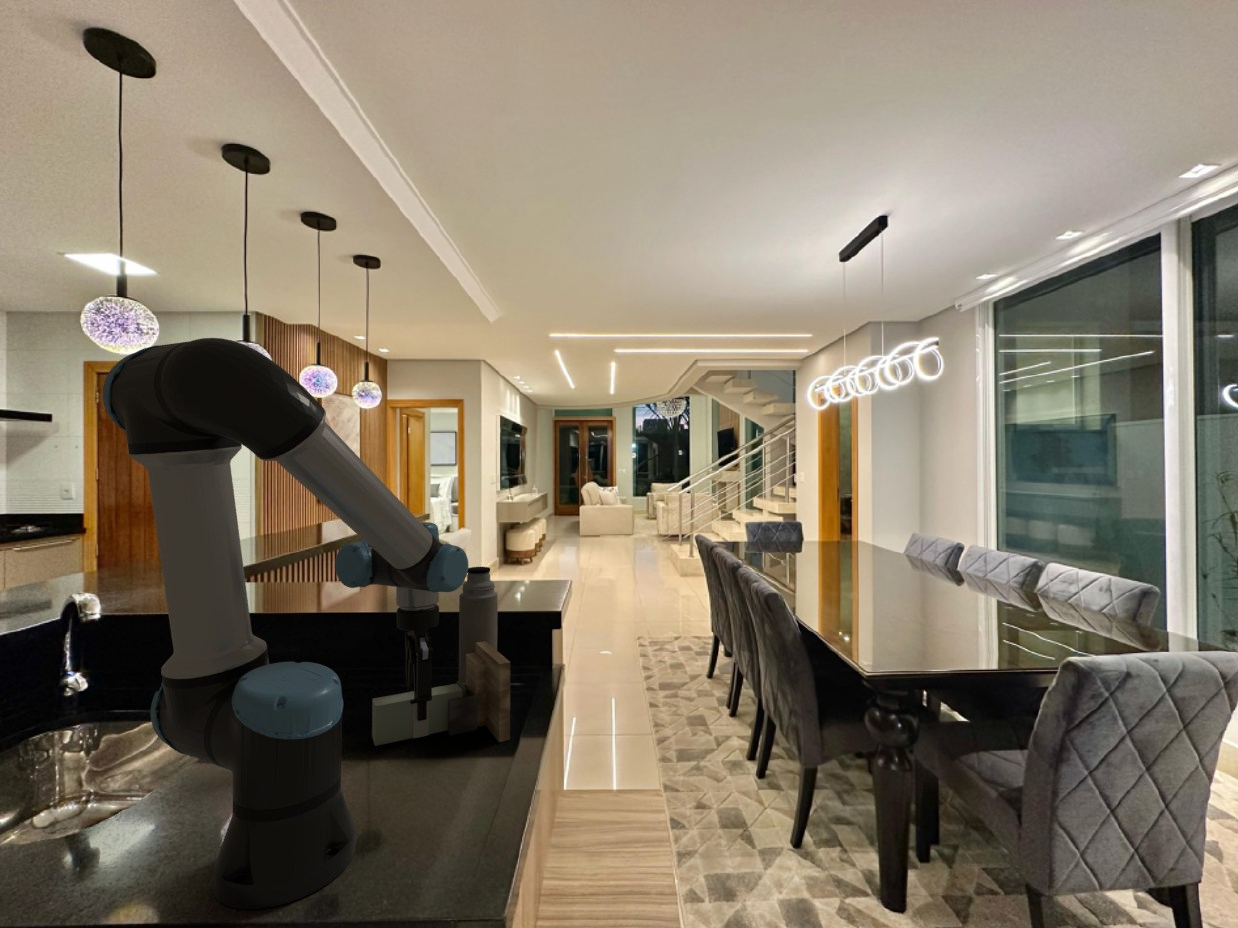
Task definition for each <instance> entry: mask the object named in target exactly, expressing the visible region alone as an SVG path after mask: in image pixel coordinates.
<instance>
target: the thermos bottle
mask: <svg viewBox="0 0 1238 928" xmlns="http://www.w3.org/2000/svg"><path fill="white" fill-rule="evenodd" d="M490 573H491V567H489V566H473V567H468V573H467V576H466V581H464V582H463V584H462V588H461V590H462V593H460V594H459V596H458V597H459V598H458V599H459V605H458V606H459V607H458V610H459V611H458V614H459V615H458V621H459V623H458V681H461V683H465V684H466V654H470V653H476V643H477V642H484V641H486V642H487V643H488V644H489V645H491V646H492V647H493V648H494V649H495V650H497V651H498V608H499V607H498V600H499V599H498V598H499V597H498V592H496V591H495V588H496V586H495V583H494V581H493V580H491V574H490Z"/></svg>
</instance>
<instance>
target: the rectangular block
mask: <svg viewBox="0 0 1238 928" xmlns="http://www.w3.org/2000/svg"><path fill="white" fill-rule="evenodd" d="M462 697H466V687H465V686H464V685H463V684H462V683H461V681H459V680H456V683H453V684H447V685H443V686H442V685H441V686H436V687H435V686H434V687H432V700H431V701H429V735H432V734H437V733H441V732H448V700H452V699H457V698H462ZM410 700H414V691H412V692H410V691H406V692H402V693H397V694H396V693H395V694H390V695H386V696H380V697H374V698H372V700H371V701H372V703H371V705H372V709H371V715H372V717H371V721H372V723H371V725H372V726H371V738H372V740H373V741H372V742H373V744H374V746H375V747H377V746H380V745H386V744H392V743H395V742H396V743H397V742H399V741H404V740H405V741H406V740H410V739H413V704H410Z"/></svg>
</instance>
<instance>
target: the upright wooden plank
mask: <svg viewBox="0 0 1238 928" xmlns="http://www.w3.org/2000/svg"><path fill="white" fill-rule="evenodd" d="M462 684H463V685H464V686H465V687H466V697H462V698H457V699H452V700H448V730H447V734H448V735H449V736H450V737H451V736H455V735H460V734H465V733H469V732H473V731H477V730H478V728H480V727H481V728H482V727H485V726H486V727H487V729H488V730H489V732H491V734H492V735H493V736H494V738H495V739H496V741H498V743H502V742H506V741H510V740H511V661H510V660H508V659H507V658H506V657H505V656H504V655H502V654H501V653H500V652H499V651H498V649H497V650H495V649H494V648H493V647H492V646H491V645H489V644H488V643H487V642H486V641H484V642H477V643H476V653H470V654H466V684H465V683H462Z"/></svg>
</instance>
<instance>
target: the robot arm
mask: <svg viewBox="0 0 1238 928" xmlns="http://www.w3.org/2000/svg"><path fill="white" fill-rule="evenodd" d="M289 373H290V372H288V371H287V370H285V369H284V368H283V367H282V366H280V365H278V364H277V363H276V362H275V361H273V360H272V359H270V358H269V357H268V356H266V355H265V354H264V353H262V352H260V351H259V350H257V349H255V348H252V347H250V346H248V345H246V344H244V343H242V342H238V341H234V340H231V339H226V338H219V337H203V338H196V339H193V340H190V341H183V342H175V343H169V344H167V343H166V344H160V345H152V346H149V347H143V348H142V349H140V350H137V351H136V352H133V353H130V354H128V355H126V356H124V357H123V358H122V359H119V361H118V362H117V363H115V364H114V365H113V366H112V368H110V370H109V372H108V373H107V375H106V377H105V380H104V382H103V386H102V401H103V406H104V409H105V411H106V413H107V414H108V416H109V419H111V421H112V422H113V423H114V424H115V425H116V426H117V427H118V428H120V430H122V431H124V432H125V435H126V436H125V437H126V444H127V449H128V455H129V458H131V459H132V460H134V461H135V462H137V463H138V464H140V465H141V466H143V467H145V469H146V471H147V473H148V474H147V475H148V482H149V488H150V496H151V503H152V509H153V517H154V523H155V529H156V535H157V536H156V538H157V545H158V551H159V558H160V559H159V560H160V565H161V570H162V571H161V573H162V579H163V585H164V592H165V594H164V595H165V599H166V606H167V614H168V620H169V621H168V622H169V629H170V634H171V641H172V648H173V653H172V655H171V656H170V657H169V658H167V660H166V661H165V663H164V664H163V665H162V666H161V668H160V669H161V671H160V672H161V673H160V674H161V681H162V682H161V684H160V685H161V686H160V687H159V689H158V691H155V693H154V695H153V698H152V702H151V705H150V722H151V725H152V728H153V730H154V733H155V734H156V736H157V737H158V738H159V739H160V741H162V742H163V743H164V744H165V745H168V746H169V748H171V749H173V750H174V751H175V752H177V753H179V754H181V755H186V756H189V757H190V758H191V757H192V758H195V759H198V760H201V761H204V762H207V763H210V764H212V765H215V766H218V767H220V768H224V769H226V770H229V771H231V772H232V813H231V818H230V821H229V823H228V827H227V829H226V832H225V834H224V838H223V840H222V843H221V846H220V847H219V852H218V854H217V857H216V860H215V862H214V866H213V867H214V868H213V881H212V882H213V883H212V885H213V888H212V889H213V894H214V897H216V899H217V900H218V902H220V903H222V905H225V906H227V907H230V908H233V909H237V910H259V909H260V910H261V909H262V910H263V909H268V908H273V907H276V906H277V907H278V906H282V905H285V904H288V903H292V902H294V901H297V900H299V899H302V898H304V897H306V896H307V897H308V895H311V894H313V893H315V892H316V891H318V890H320V889H322V888H324V887H325V886H326V885H328V884H330V882H332V881H334V880H335V879H336V878H337V877H338V876H340V874H341V873H342V872H344V871H345V870H346V868H347V867H348V866H349V865H350V863H351V861H352V859H354V855H355V852H356V827H355V824H354V821H353V818H352V815H351V813H350V810H349V808H348V805H347V802H346V799H345V797H344V794H343V791H342V780H341V779H342V751H343V750H342V748H343V747H342V745H343V742H342V741H343V738H342V737H343V712H344V711H343V709H344V699H343V694H342V693H343V692H342V684H341V683H342V682H341V680H340V677H339V676H338V674H337V673H336V672H335V671H334V670H333V669H331V668H329V667H328V666H325V665H322V664H320V663H315V662H311V661H310V662H309V661H302V662H295V661H281V662H274V663H270V661H269V659H270V658H269V653H268V644H267V642H266V641H265V640H263V638H260V637H258V636H255V635H254V634H253V631H252V630H253V629H252V625H251V616H250V609H249V600H248V593H247V586H246V585H247V583H246V577H245V570H244V569H245V567H244V562H243V561H244V559H243V552H242V545H241V537H240V529H239V523H238V514H237V508H236V500H235V492H234V491H235V490H234V483H233V476H232V468H231V467H232V466H231V463H232V462H231V461H232V459H234V458H235V456H237V454H238V453H239V452H240V451H241V450H242V448H243V446H244V447H245V448H247V449H248V450H249V451H250V452H251V453H253V454H254V455H255V456H256V457H257V458H258V459H259V460H261V461H265V462H271V461H272V462H273V461H274V462H276V464H277V463H278V464H279V465H280V467H282V468H283V470H285V471H287V472H288V474H289V475H291V476H292V478H294V479H296V481H297V482H298V483H300V485H302V486H303V487H304V488H305V489H306V490H308V492H310V493H311V495H313V496H314V497H315V498H316V499H318V501H319V502H321V503H322V504H323V505H324V506H325V507H326V508H327V509H329V511H331V512H332V513H333V514H334V515H335V516H336V517H337V518H339V519H340V521H342V522H343V523H344V524H346V526H348V527H349V528H350V530H351V531H353V532H355V534H356V535H358V536H359V537H360V538H361V540H358V541H355V542H349V543H346V544H345V545H343V546H342V547H341V548H340V549H339V550H338V552H337V554H336V557H335V560H334V561H335V567H334V568H335V573H336V577H337V579H338V581H340V583H341V584H342V585H343V586H345V587H347V588H350V589H356V588H366V587H369V586H372V585H373V586H374V585H378V586H384V587H385V586H386V587H387V586H388V587H394V588H395V590H396V591H395V592H396V593H395V594H396V597H395V598H396V599H395V601H396V605H397V606H398V608H396V628H397V629H399V631H400V630H401V631H404V636H403V637H404V643H405V644H404V645H405V680H404V683H405V685H407V686H406V690H407V692H412V691H414V700H410V704H413V738H412V739H417V738H418V739H419V738H421V737H427V736H429V735H430V734H429V701H431V700H432V688H433V687H432V686H433V685H432V683H433V681H432V680H433V679H432V678H433V655H434V654H433V653H434V648H433V647H432V637H431V636H429V633H428V632H429V630H430V629H433V628H436V627H437V626H438V625H439V623H440V607H439V605H438V602H440V601H439V600H440V594H439V593H451V592H455V591H457V590H458V589H459V588H460V587H461V586H463V584H464V583H465V579H467V575H468V568H469V559H468V556H467V554H466V551H465V550H464V549H463V548H462V547H461V546H458V545H454V544H452V543H442V542H440V534H439V527H438V525H437V524H436V523H433V522H427V521H424V522H423V521H422V522H421V521H420V520H419V519H418V518H417V517H416V516H415V514H413V513H412V512H411V511H410V510H409V508H407V507H406V505H405V504H404V503H403V502H402V500H400V499H399V498H398V497H397V495H395V494H394V492H392V491H391V490H390V489H389V487H387V486H386V484H385V483H384V482H383V481H382V480H381V479H380V477H378V476H377V475H376V474H375V473H374V472H373V470H372V469H370V467H369V466H368V465H367V464H366V463H365V462H364V461H363V460H362V459H361V458H360V457H359V456H358V454H356V453H355V451H354V450H352V448H351V447H350V446H349V445H348V444H347V443H346V442H345V441H344V440H343V439H342V438H341V437H340V435H338V434H337V433H336V431H335V430H334V429H333V428H332V427H331V426H330V425H329V424H328V422H326V416H327V412H326V409H325V407H323V405H321V404H320V402H318V400H317V399H316V397H314V396H313V395H312V394H311V393H310V392H309V391H308V390H307V389H306V388H305V386H303V385H302V384H301V383H300V382H299V381H298V380H297V379H295V378H294V377H293V375H291V374H289Z"/></svg>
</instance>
